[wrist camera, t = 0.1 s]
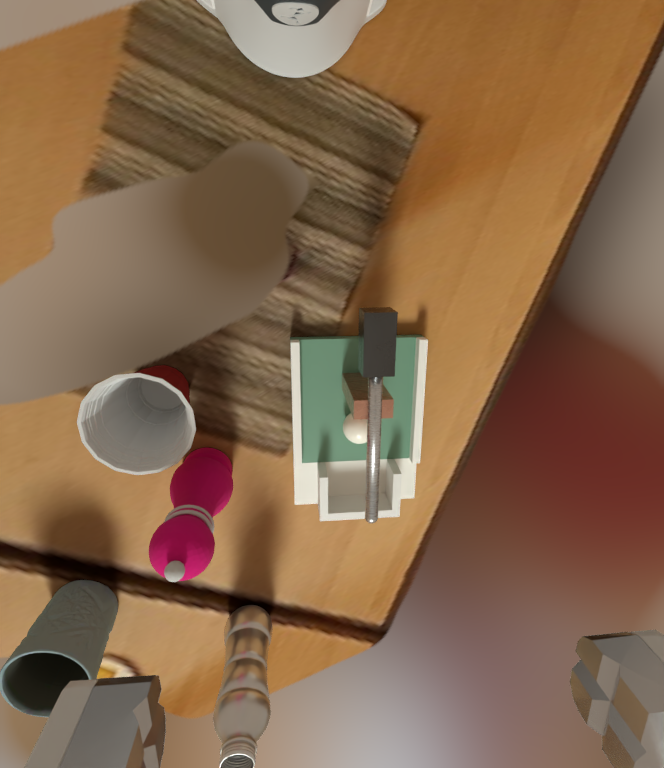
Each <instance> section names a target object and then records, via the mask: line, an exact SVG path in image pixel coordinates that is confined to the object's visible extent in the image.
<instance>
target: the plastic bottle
mask: <svg viewBox="0 0 664 768" xmlns="http://www.w3.org/2000/svg"><path fill="white" fill-rule="evenodd" d="M272 630H273V628H272V622H271V618H270V615H269V614H268V613H267V612H266V611H265V610H264V609H263V608H261V607H259V606H257V605H245V606H242V607H240V608H238V609H237V610H235V611H234V612H233V613H232V614H231V615H230V616H229V618H228V621H227V623H226V626H225V630H224V641H225V667H224V673H223V678H222V683H221V687H220V691H219V694H218V698H217V701H216V705H215V709H214V714H213V721H214V727H215V731H216V733H217V735H218V737H219V739H220V740H221V742H222V743H223V744H222V745H221V749H220V764H219V768H254V765H255V759H256V753H257V743H256V742H257V741H258V740H259V738H260V737H261V736H262V734H263V732H264V731H265V730H266V728H267V725H268V723H269V719H270V715H271V710H270V700H269V692H268V685H267V658H268V650H269V645H270V641H271V636H272Z"/></svg>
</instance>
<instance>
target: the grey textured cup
mask: <svg viewBox="0 0 664 768" xmlns="http://www.w3.org/2000/svg"><path fill="white" fill-rule="evenodd" d="M117 612H118V601H117V598H116V595H115V594H114V593H113V592H112V590H110V589H109V587H107V586H104V584H101V583H99V582H95V581H91V580H76V581H72V582H70V583H67V584H66V585H64V586H63V587H61V588H60V589H59V590H58V591H57V592H56V593H55V595H54V596H53V597H52V599H51V600H50V602H49V603H48V604H47V606H46V607H45V609H44V610H43V612H42V613H41V614H40V615H39V617H38V618H37V620H36V621H35V623H34V624H33V625H32V626H31V628H30V629H29V631H28V634H27V637H25V638H24V639H23V640H22V642H21V644H20V645H19V646H18V647H17V648H16V649H15V651H14V652H13V654H12V655H11V656H10V658H9V659H8V660H7V662H6V663H5V665H4V666H3V668H2V669H1V671H0V691H1V694H2V696H3V697H4V699H5V700H6V701H7V702H8V704H10V705H11V706H12V707H14V708H15V709H17V710H19V711H21V712H23V713H26V714H29V715H33V716H39V717H49V716H50V714H51V712H52V710H53V708H54V706H55V704H56V702H57V700H58V698H59V696H60V694H61V692H62V690H63V689H64V688H65V687H66V686H67V684H68V683H69V682H70V681H78V680H92V679H96V678H97V674H98V671H99V668H100V665H101V662H102V658H103V653H104V650H105V647H106V644H107V641H108V639H109V633H110V632H111V631H112V628H113V625H114V622H115V619H116V615H117Z"/></svg>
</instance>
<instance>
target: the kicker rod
mask: <svg viewBox="0 0 664 768" xmlns="http://www.w3.org/2000/svg"><path fill="white" fill-rule="evenodd" d="M397 314H398V312H396V311H395V310H393V309H392V308H390V307H387V308H359V344H358V369H359V371H360V373H342V391H343V393H344V396H345V398H346V401H347V404H348V406H349V409H350V411H351V414H352V416H353V419H354V420H356V419H367V454H366V492H365V519H366V521H367V522H369V523H375V522H376V521H377V519H378V504H379V476H380V448H381V420H382V419H383V418H393V407H394V399H393V398H392V396H391V395H390V393H389V392H388V390H387V389H386V387H385V386H384V384H383V377H394V376H395V360H396V337H397Z"/></svg>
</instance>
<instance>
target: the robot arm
mask: <svg viewBox="0 0 664 768" xmlns="http://www.w3.org/2000/svg"><path fill="white" fill-rule="evenodd" d="M197 1H198V2H199V3H200V4H201V5H202V6H203V7H204V8H205V9H207V10H208V11H209V12H210V13H212V14H213V15H214V16H216V17H217V18H218V19H219V20H220V21H221V23H222V24H223V26H224V27H225V29H226V31H227V32H228V34H229V36H230V37H231V39H232V40H233V42H234V43H235V45H236V46H237V47H238V48H239V50H240V51H241V52H242V53H243V54H244V55H245V56H246V57H247V58H248V59H249V60H251V61H252V62H253V63H254V64H256V65H257V66H259V67H260V68H262V69H264V70H266V71H268V72H270V73H273V74H276V75H279V76H284V77H292V78H299V77H306V76H311V75H314V74H317V73H320V72H322V71H324V70H326V69H327V68H329V67H330V66H332V65H333V64H334V63H336V62H337V61H338V60H339V59H340V58H341V57H342V56H343V55H344V54H345V52H346V51H347V50H348V48H349V47H350V45H351V44H352V42H353V40H354V39H355V37H356V35H357V33H358V32H359V30H360V29H361V27H362V26H363V25H364V24H365V23H367V22H368V21H370V20H371V19H372V18H374V17H375V16H376V15H377V14H379V13H380V12H381V11H382V10H383V8H384V7H385V5H386V2H387V0H197ZM576 653H577V654H578V655H579V657H580V658H581V660H580V661H579V662H578V663H577V664H576V665H575V666H574V667H573V668H572V672H571V679H570V685H571V690H572V696H573V699H574V702H575V704H576V706H577V709H578V711H579V713H580V714H581V716H582V718H583V719H584V721H585V723H586V724H587V725H588V726H589V727H591V728H592V729H593V730H595V731H596V732H598V733H599V734H600V735H602V750H603V751H604V753H605V755H606V756H607V758H608V759H609V761H610V763H611V764H612V766H613V767H614V768H664V635H663V634H662V633H660V632H658V631H657V630H647V631H636V632H621V633H611V634H603V635H592V636H583V637H582V638H581V639H580V640H579V641H578V643H577V648H576ZM160 693H161V685H160V679H159V676H156V675H152V676H136V677H119V678H103V679H92V680H78V681H70V682H69V683H68V684H67V686H66V687H65V688H64V689H63V690H62V692H61V694H60V696H59V698H58V700H57V702H56V704H55V706H54V708H53V710H52V712H51V714H50V716H49V718H48V720H47V722H46V724H45V726H44V728H43V730H42V733H41V735H40V737H39V739H38V741H37V743H36V745H35V747H34V749H33V751H32V753H31V755H30V757H29V759H28V761H27V763H26V765H25V767H24V768H160V765H161V760H162V755H163V750H164V742H165V733H166V724H165V722H166V720H165V719H166V718H165V710H164V707H163V706H161V705H160V704H159V703H158V701H159V697H160Z"/></svg>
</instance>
